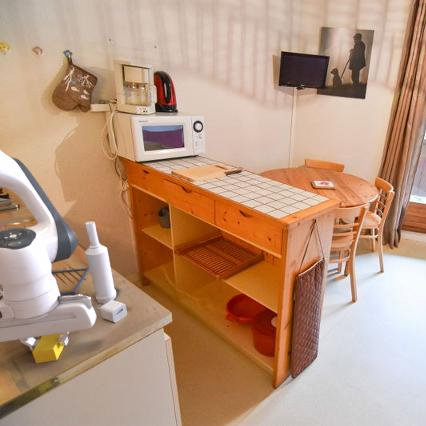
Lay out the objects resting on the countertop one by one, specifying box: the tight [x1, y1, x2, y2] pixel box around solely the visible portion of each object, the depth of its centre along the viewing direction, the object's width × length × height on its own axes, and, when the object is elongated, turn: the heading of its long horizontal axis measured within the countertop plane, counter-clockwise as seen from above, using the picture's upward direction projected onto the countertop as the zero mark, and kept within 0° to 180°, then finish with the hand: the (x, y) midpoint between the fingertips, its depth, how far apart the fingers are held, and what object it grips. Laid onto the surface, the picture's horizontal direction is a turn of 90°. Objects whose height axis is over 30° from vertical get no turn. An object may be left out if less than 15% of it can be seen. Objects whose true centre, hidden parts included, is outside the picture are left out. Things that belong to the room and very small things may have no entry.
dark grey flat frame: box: [51, 267, 90, 296], centre depth 98 cm, size 11×13×2 cm
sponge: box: [31, 334, 65, 364], centre depth 75 cm, size 6×4×4 cm, turn 18°
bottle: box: [84, 221, 117, 305], centre depth 90 cm, size 5×5×25 cm
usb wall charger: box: [96, 299, 128, 323], centre depth 88 cm, size 4×7×4 cm, turn 71°
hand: (50, 346), depth 75 cm, fingers closed on sponge, 4 cm apart
